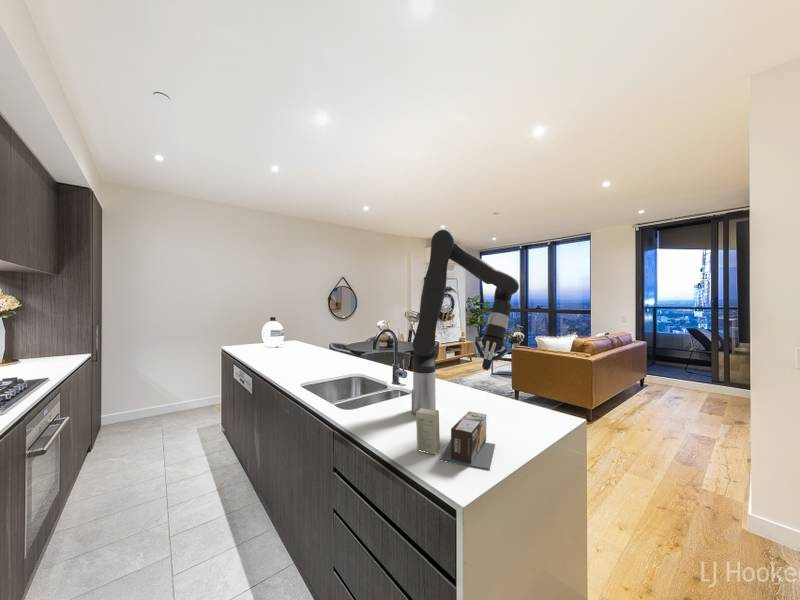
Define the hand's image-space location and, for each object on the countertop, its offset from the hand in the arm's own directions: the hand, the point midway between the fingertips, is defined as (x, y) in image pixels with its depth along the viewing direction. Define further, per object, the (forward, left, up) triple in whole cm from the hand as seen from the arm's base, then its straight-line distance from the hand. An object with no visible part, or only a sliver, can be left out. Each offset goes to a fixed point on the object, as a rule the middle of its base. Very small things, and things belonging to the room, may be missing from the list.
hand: (485, 369), depth 119 cm
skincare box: (-14, -28, -21) cm, 37 cm away
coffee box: (-1, -16, -15) cm, 22 cm away
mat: (-2, -25, -20) cm, 32 cm away
